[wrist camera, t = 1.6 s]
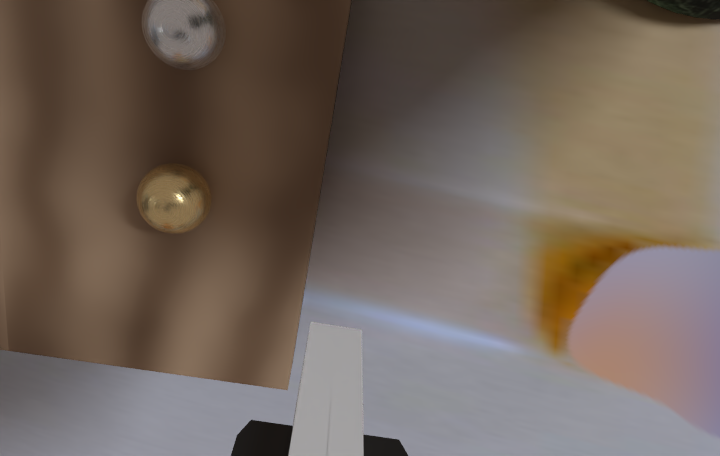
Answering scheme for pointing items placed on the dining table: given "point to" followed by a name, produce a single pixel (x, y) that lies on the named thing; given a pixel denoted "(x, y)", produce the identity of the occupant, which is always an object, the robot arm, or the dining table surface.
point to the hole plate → (145, 152)
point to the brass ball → (174, 198)
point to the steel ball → (184, 31)
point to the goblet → (692, 7)
